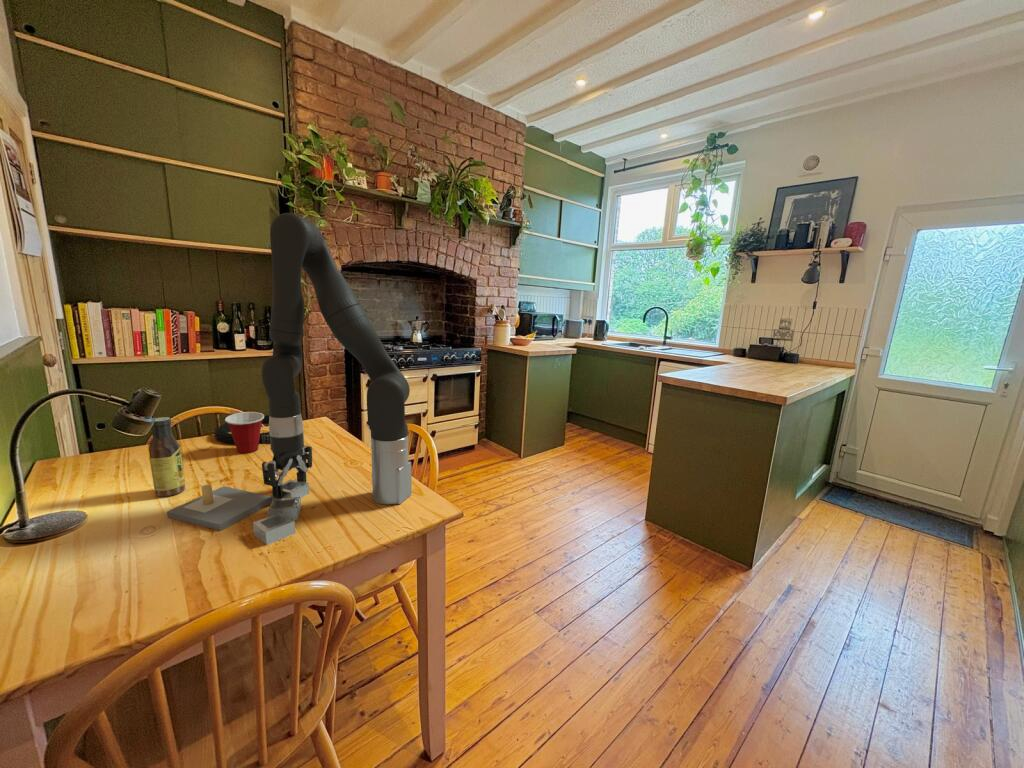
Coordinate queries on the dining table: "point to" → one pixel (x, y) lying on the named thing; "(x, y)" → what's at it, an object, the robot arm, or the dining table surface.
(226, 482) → the dining table surface
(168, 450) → the sauce bottle
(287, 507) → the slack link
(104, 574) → the dining table surface
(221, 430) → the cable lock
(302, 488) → the grey square ring
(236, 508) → the keeper board
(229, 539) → the dining table surface
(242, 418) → the plastic cup
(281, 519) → the slack link
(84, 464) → the dining table surface
